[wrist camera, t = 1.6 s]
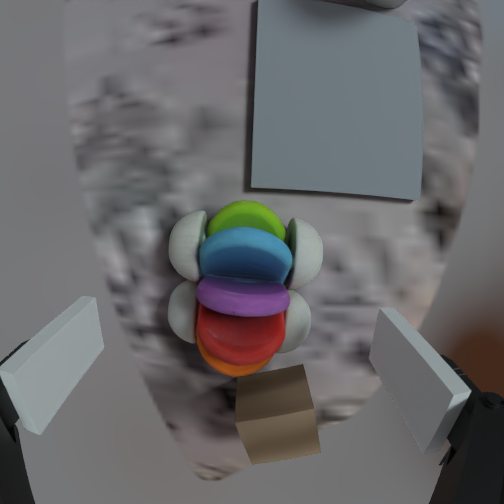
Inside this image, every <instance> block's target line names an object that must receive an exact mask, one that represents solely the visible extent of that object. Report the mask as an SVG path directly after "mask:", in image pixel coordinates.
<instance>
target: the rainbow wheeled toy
mask: <svg viewBox="0 0 504 504" xmlns="http://www.w3.org/2000/svg"><path fill="white" fill-rule="evenodd" d="M169 258H170V261H171V263H172V265H173V267H174V268H175V270H176V271H177V272H178V273H179V274H180V275H181V276H183V277H184V278H186V279H188V280H186V281H184V282H182V283H181V284H179V285H178V286H177V287H176V288H175V289H174V290H173V292H172V294H171V296H170V300H169V306H168V321H169V324H170V326H171V328H172V330H173V331H174V332H175V334H176V335H178V336H179V337H180V338H181V339H183V340H185V341H187V342H189V343H195V342H196V341H197V344H198V348H199V350H200V352H201V354H202V356H203V358H204V359H205V360H206V362H207V363H208V364H209V365H210V366H211V367H213V368H214V369H215V370H217V371H219V372H220V373H222V374H225V375H228V376H233V377H238V376H246V375H249V374H252V373H254V372H256V371H258V370H260V369H261V368H263V367H264V366H265V365H266V364H267V363H268V362H269V361H270V360H271V358H272V357H273V355H274V354H275V353H285V352H289V351H292V350H294V349H296V348H297V347H298V346H300V345H301V344H302V343H303V342H304V341H305V339H306V338H307V336H308V334H309V331H310V325H311V312H310V308H309V306H308V304H307V302H306V301H305V300H304V298H303V297H301V296H300V295H299V294H298V293H296V292H295V291H293V290H291V289H297V288H300V287H302V286H304V285H306V284H308V283H309V282H311V281H312V280H313V279H314V278H315V277H316V275H317V274H318V272H319V270H320V268H321V265H322V260H323V244H322V241H321V238H320V237H319V235H318V233H317V232H316V230H315V229H314V228H313V227H312V226H311V225H309V224H308V223H306V222H304V221H302V220H300V219H297V218H292V219H291V220H290V222H289V224H288V228H287V232H286V230H285V228H284V226H283V225H282V223H281V221H280V220H279V218H278V217H277V215H276V214H275V213H274V212H273V211H271V210H270V209H269V208H268V207H266V206H264V205H263V204H261V203H258V202H255V201H244V200H243V201H236V202H233V203H231V204H229V205H227V206H225V207H224V208H222V209H221V210H220V211H219V212H218V213H217V214H216V215H215V216H214V217H213V218H212V219H211V220H210V222H209V224H208V227H207V215H206V212H205V211H196V212H192V213H190V214H187V215H186V216H184V217H183V218H181V219H180V220H179V221H178V222H177V223H176V224H175V225H174V227H173V229H172V231H171V234H170V239H169ZM283 285H285V287H286V288H285V287H284V286H283Z"/></svg>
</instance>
